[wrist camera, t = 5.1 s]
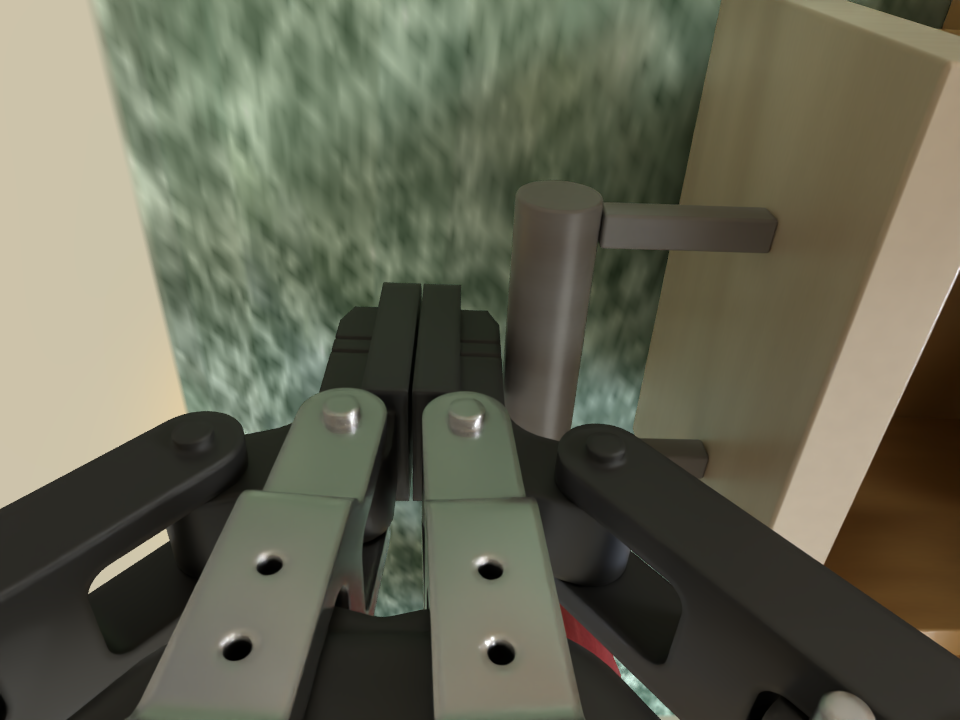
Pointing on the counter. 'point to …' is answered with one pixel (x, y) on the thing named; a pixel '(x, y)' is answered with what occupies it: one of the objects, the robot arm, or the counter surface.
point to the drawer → (790, 295)
